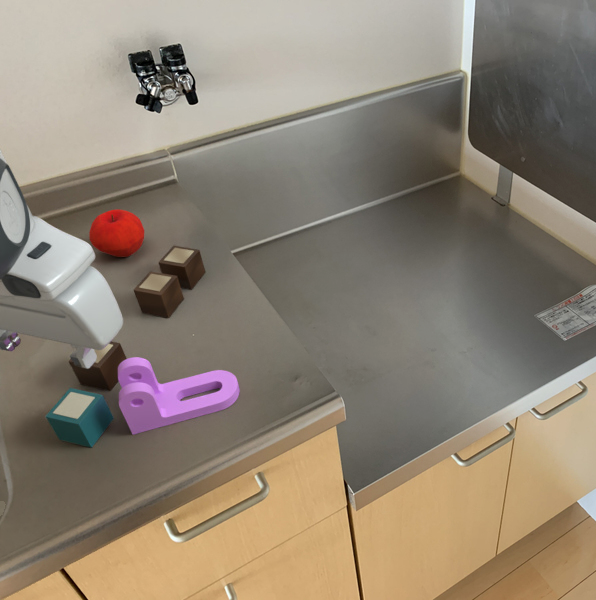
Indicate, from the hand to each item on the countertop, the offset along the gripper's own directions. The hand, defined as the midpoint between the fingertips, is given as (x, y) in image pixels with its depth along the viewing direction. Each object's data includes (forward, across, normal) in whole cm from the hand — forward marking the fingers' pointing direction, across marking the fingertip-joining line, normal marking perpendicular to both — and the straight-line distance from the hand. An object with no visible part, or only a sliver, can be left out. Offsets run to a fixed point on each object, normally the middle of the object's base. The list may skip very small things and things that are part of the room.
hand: (48, 354), depth 65 cm
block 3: (+13, -3, +22) cm, 25 cm away
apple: (+13, -16, +32) cm, 38 cm away
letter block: (+13, 0, 0) cm, 13 cm away
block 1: (+13, -3, +8) cm, 15 cm away
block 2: (+13, -3, +28) cm, 31 cm away
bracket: (+13, +10, +6) cm, 17 cm away
